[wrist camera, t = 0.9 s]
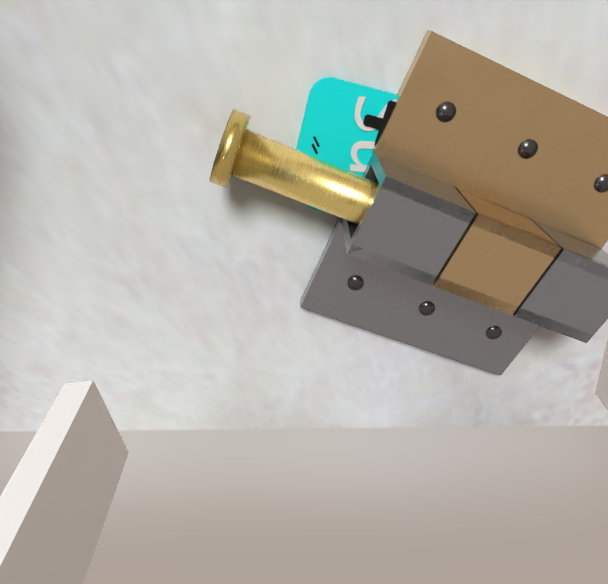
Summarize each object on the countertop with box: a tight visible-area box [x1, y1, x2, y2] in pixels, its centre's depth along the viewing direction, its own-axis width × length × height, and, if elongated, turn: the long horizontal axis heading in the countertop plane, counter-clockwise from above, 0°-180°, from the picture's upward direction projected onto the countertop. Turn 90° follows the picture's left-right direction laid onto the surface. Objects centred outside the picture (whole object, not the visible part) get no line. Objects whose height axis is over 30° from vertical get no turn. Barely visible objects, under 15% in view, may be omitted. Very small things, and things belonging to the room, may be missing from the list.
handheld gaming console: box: [296, 77, 398, 213], centre depth 33 cm, size 8×1×15 cm
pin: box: [210, 109, 379, 224], centre depth 31 cm, size 20×4×4 cm, turn 68°
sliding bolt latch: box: [300, 30, 608, 375], centre depth 32 cm, size 18×20×6 cm
